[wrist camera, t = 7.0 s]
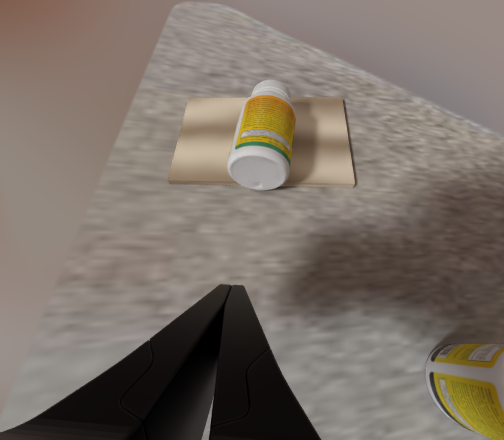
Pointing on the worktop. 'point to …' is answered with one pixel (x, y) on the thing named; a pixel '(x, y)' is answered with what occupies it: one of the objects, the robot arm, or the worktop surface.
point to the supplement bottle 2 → (469, 386)
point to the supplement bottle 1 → (263, 138)
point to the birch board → (303, 152)
